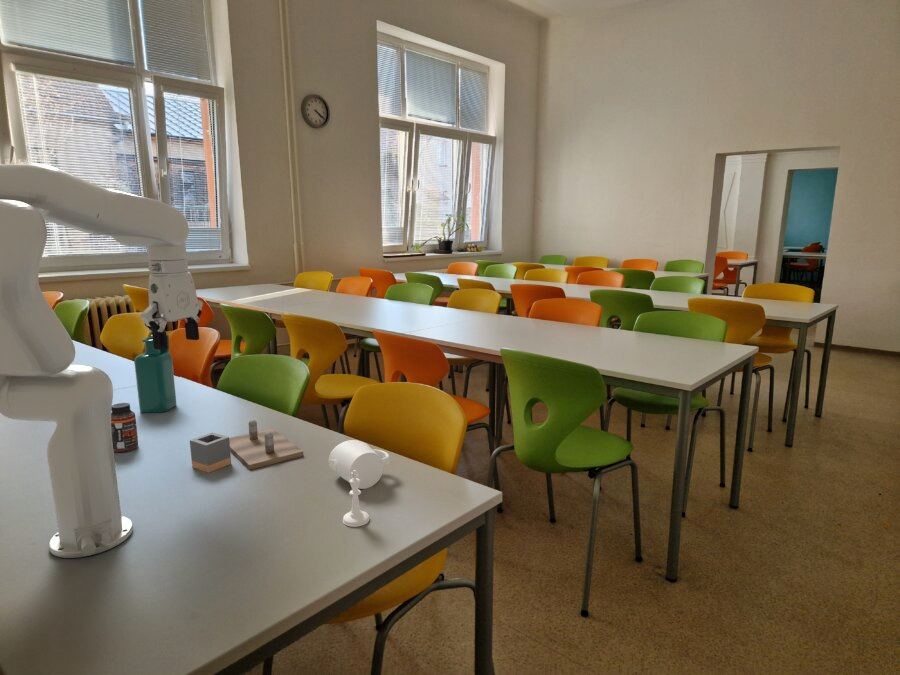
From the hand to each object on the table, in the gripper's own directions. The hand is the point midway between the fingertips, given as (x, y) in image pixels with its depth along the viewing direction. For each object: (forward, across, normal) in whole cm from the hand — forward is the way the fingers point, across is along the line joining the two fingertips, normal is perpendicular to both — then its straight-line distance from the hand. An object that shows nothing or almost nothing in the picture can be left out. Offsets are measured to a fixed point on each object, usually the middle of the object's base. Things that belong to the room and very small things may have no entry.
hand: (177, 344), depth 129 cm
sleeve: (+28, 0, -6) cm, 29 cm away
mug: (+28, +3, -43) cm, 52 cm away
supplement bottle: (+29, +2, +22) cm, 36 cm away
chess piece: (+28, -14, -49) cm, 58 cm away
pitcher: (+30, +31, +38) cm, 57 cm away
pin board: (+29, +11, -12) cm, 33 cm away
